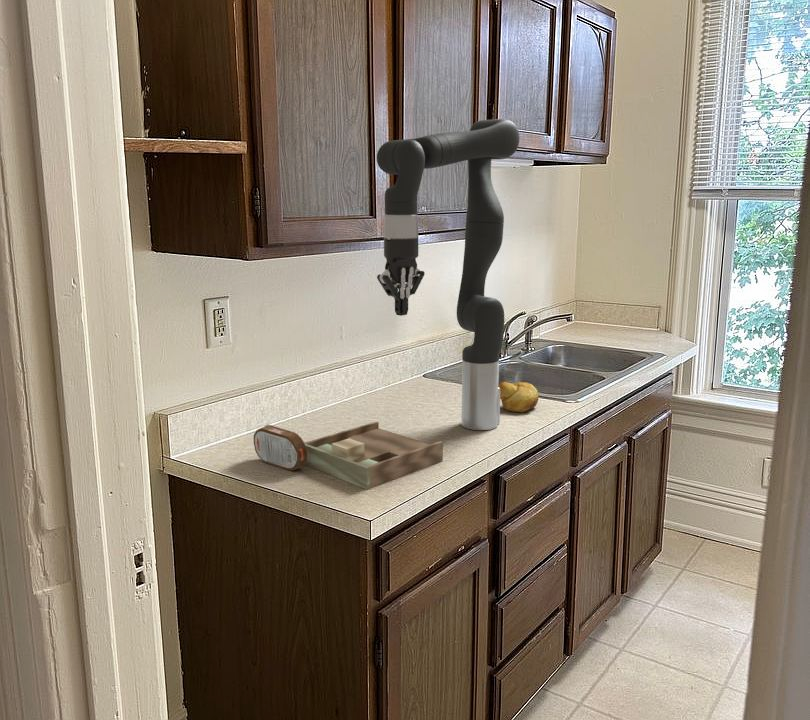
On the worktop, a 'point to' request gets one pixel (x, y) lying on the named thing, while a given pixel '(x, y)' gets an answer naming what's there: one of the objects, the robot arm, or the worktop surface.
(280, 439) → the tin
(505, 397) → the bread roll
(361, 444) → the maple block
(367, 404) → the worktop surface
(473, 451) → the worktop surface
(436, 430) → the worktop surface
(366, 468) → the trap box
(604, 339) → the worktop surface
